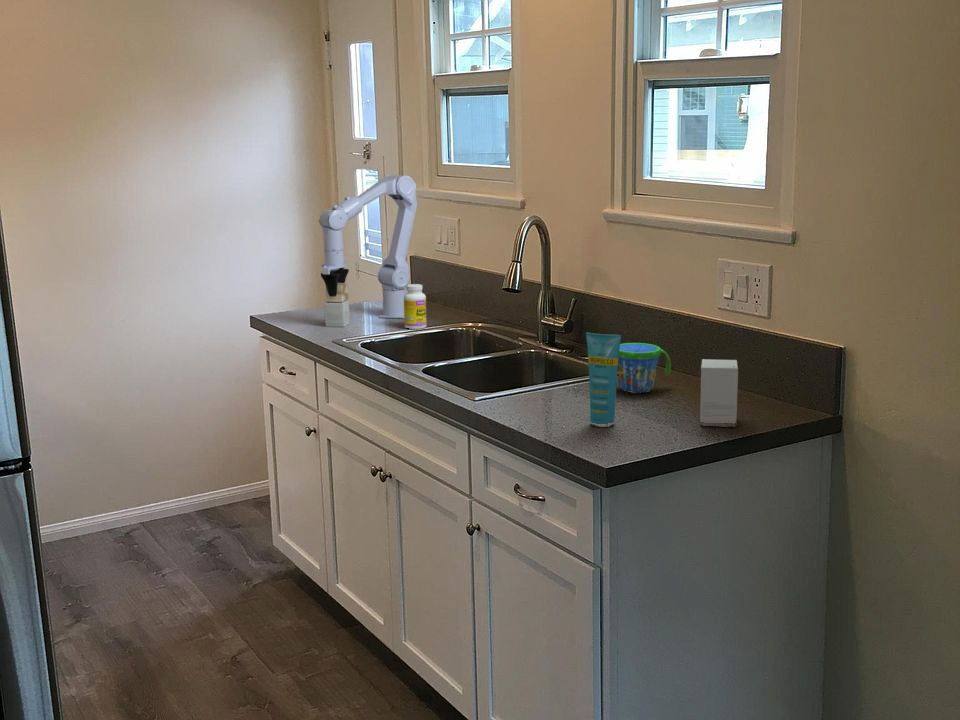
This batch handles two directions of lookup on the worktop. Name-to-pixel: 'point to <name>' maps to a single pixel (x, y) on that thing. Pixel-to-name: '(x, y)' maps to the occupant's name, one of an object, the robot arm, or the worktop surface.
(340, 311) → the skincare box
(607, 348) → the tube
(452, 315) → the worktop surface
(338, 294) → the block
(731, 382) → the supplement box
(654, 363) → the snack cup
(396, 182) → the robot arm
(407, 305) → the supplement bottle
